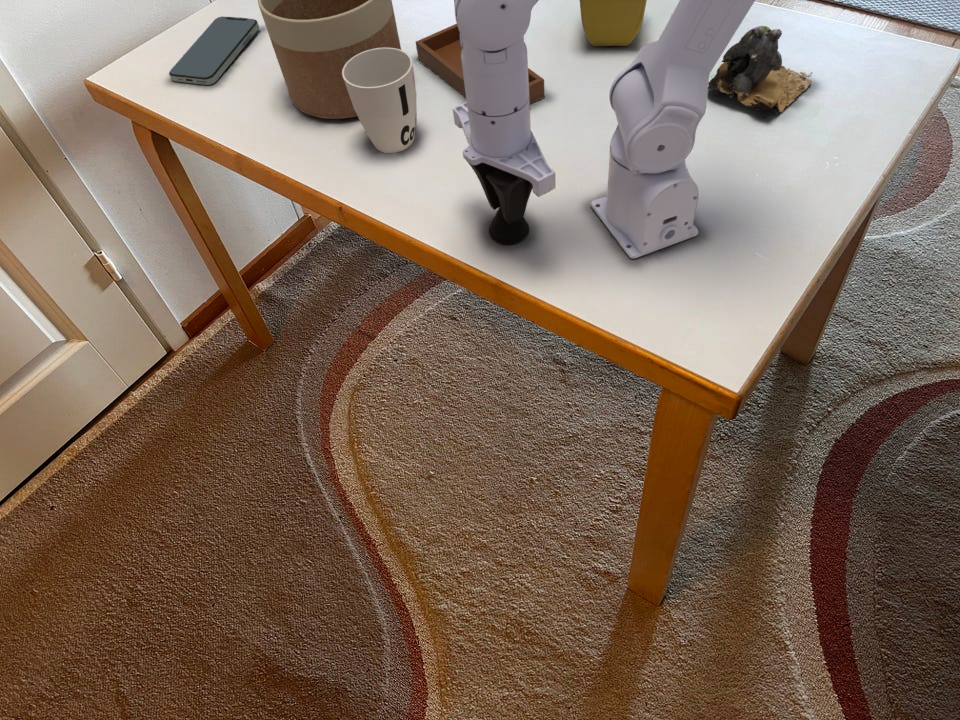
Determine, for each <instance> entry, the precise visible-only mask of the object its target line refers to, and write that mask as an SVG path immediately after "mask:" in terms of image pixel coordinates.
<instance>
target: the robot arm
mask: <svg viewBox="0 0 960 720" xmlns="http://www.w3.org/2000/svg"><path fill="white" fill-rule="evenodd" d="M539 1H540V0H453V4H454V16H455V23H456V24H457V25H458V29H459V31H460V43H461V47H462V52H461V61H462V69H463V77H464V85H465V93H466V98H465V101H466V102H463V103H461V104H458V105H457V106H455V107H453V108H452V115H453V121H454V122H453V123H454V125H455V126H456V127H457V128H458V129H462V131H463V133H464V134H463V135H464V136H465V139H466V142H467V144H468V146H467V147H466V148H464V149H463V150H462V158H463V159H464V160H465V161H466V163H468V165H469V166H470V167H471V169H472V170H473V172H474V173H475V175H476V177H477V179H478V181H479V183H480V185H481V187H482V190H483V192H484V195H485V198H486V200H487V202H488V204H489V206H490V208H491V209H493V210H494V211H496V210H498V209H499V207H500V206H501V210H502V214H503V217H504V219H505V221H506V222H508V223H509V224H510V223H512V222H514V221H516V220H518V219H519V218H521V217H525V215H526V210H527V206H528V202H529V199H530V197H531V193H533V194H534V195H535V196H536V197H538V198H540V197H542V196H544V195H546V194H548V193H550V192H551V191H553V190H555V189H556V171H555V170H553V168H551V166H550V165H549V164H548V161H547V160H546V158H545V156H544V154H543V152H542V150H541V148H540V146H539V143H538V141H537V139H536V137H535V135H534V133H533V131H532V126H531V104H530V101H529V80H528V68H529V61H528V48H527V44H526V42H525V35H526V33H527V31H528V29H529V26H530V23H531V17H532V10H533V8H534V7H535V6H536V5H537V3H538V2H539ZM755 2H756V0H679V1H678V3H677V4H676V7H675V8H674V11H672V14H671V16H670V18H669V19H668V22H667V23H666V24H665V27H664V29H663V30H662V32H661V34H660V36H659V38H658V39H657V40H655V41H652V42H649V43H647V44H644V45H642V46H641V47H640V49H639V51H638V53H637V55H636V56H635V58H634V59H633V61H632V62H630V64H629V65H628V66H626V67H625V68H624V69H623V70H621V71H620V73H618V75H616V77H615V79H614V80H613V82H612V83H611V86H610V89H609V94H608V95H609V96H608V97H609V98H608V99H609V103H610V106H611V109H612V110H613V112H614V114H615V117H616V122H617V125H616V127H615V130H614V132H613V134H612V136H611V139H610V142H609V143H610V144H609V158H608V174H607V176H608V177H607V188H606V189H607V190H606V196H603V197H599V198H596V199H594V200H592V201H591V202H590V207H591V208H592V210H593V211H594V212H595V214H596V215H597V217H598V218H599V220H601V221H602V223H603V224H604V226H605V227H606V228H607V229H608V231H609V232H610V233H611V235H612V236H613V238H615V240H616V241H617V243H618V244H619V245H620V247H621V248H622V249H623V251H624V252H625V253H626V254H627V257H629V258H630V259H638V258H640V257H643V256H645V255H649V254H651V253H653V252H656V251H659V250H662V249H664V248H667V247H670V246H672V245H675V244H678V243H681V242H683V241H686V240H689V239H691V238H694V237H696V236H698V234H699V229H698V228H697V227H696V225H694V221H695V217H696V211H697V208H698V207H697V206H698V201H699V197H700V196H699V195H700V191H699V187H698V185H697V183H696V182H695V180H694V179H693V177H692V176H691V174H690V172H689V170H688V167H687V162H686V159H687V158H688V157H689V155H690V154H691V152H692V150H693V149H694V147H695V143H696V134H697V133H696V132H697V129H698V126H699V124H700V122H701V121H702V119H703V118H704V116H705V114H706V110H707V103H708V102H707V101H708V92H709V91H708V90H709V89H708V86H709V84H708V83H709V82H710V76H711V75H710V74H711V73H712V71H713V69H714V68H715V66H716V64H717V63H718V61H719V60H720V59H721V56H722V54H723V53H724V51H726V48H727V47H728V45H729V43H730V42H731V40H732V39H733V37H734V36H735V35H736V32H737V31H738V29H739V28H740V26H741V24H742V22H743V21H744V19H745V17H746V16H747V15H748V13H749V11H750V10H751V8H752V6H753V5H754V4H755ZM494 188H495V189H494ZM495 190H496V192H495Z"/></svg>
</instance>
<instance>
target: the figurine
mask: <svg viewBox="0 0 960 720" xmlns="http://www.w3.org/2000/svg"><path fill="white" fill-rule="evenodd" d="M747 30H748V31H747V32H745V34H744V35H743V36H741V38H740V39H739V41H738V42H736V43H735V44H733V45H732V46H731V47H730V48H728V49H727V51H726V52H725V53H724V55H723V56H722V60H721V64H720V65H719V67H718V68H717V69H716V74H715V75H714V74H712V76H710V78H711V79H709V81H708V90H715V91H717V92H716V94H715V98H717V97H718V96H717V94H719V92H721V93H725V94H726V95H728V96H729V97H730V98H733V97H734V93H736V94H737V96H736V98H737V99H736V100H737V101H738V102H740V103H741V104H742V105H744V106H746V107H750V108H752V110H753V111H754V110H756V111H761V110H762V111H763V110H764V111H766V110H770V109H772V110H773V111H774V112H775V114H777V113H779V112H780V113H783V111H784V109H785V108H786V107H788V106H790V104H792V103H793V102H794V101H795V100H796V98H798V97H799V95H801V94H802V93H803V92H805V91H806V90H807V89H808V88H809V87H812V83H813V80H812V79H808V78H810V77H812V75H813V73H814V72H813V71H810V73H808V74H807V73H806V72H804V71H800V72H797V71H795V70H793V69H791V67H789V68H786V66H784V65H783V57H782V54H781V52H780V51H779V40H780V38H781V37H782V36H783V35H782V34H783V31H782V30H781V29H780V28H776V29H771V28H770V26H769V27H768V26H767V25H766V26H765V25H760V26H759V25H757V26H756V27H752V28H751V29H749V28H747ZM762 119H765V116H763V117H762Z"/></svg>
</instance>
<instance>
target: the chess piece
mask: <svg viewBox="0 0 960 720" xmlns="http://www.w3.org/2000/svg"><path fill="white" fill-rule="evenodd" d="M494 189H495V188H494ZM495 192H496V190H495ZM529 233H530V225H529V222H528V221H527V219H526V218H525V216H523V217H521V218H519V219H518V220H516V221H514V222H512V223H510V224H509V223H508V222H506V221H505V219H504V217H503V214H502V210H501V206H500V207H499V208H497V211H496V214H495V215H494V217H493V218H492V219H491V222H490V224H489V227H488V234H489V237H490V238H491V240H492V241H493V242H495V243H497V244H498V245H502V246H513V245H517V244H520V243H521V242H523V241H525V239H526V238H527V237H528V235H529Z"/></svg>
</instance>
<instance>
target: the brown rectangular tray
mask: <svg viewBox="0 0 960 720" xmlns="http://www.w3.org/2000/svg"><path fill="white" fill-rule="evenodd" d="M415 47H416V53H417V60H419V61H420V62H421V63H422V64H424V65H425V66H426V67H428V68H429V69H430V70H431V71H432V72H434V74H436V75H437V76H438V77H440V78H441V79H442V80H443V81H444V82H446V83H447V84H448V85H449V86H450V87H452V88H453V89H454V90H455V91H457V92H458V93H459V94H460V95H461V96H463V97H464V98H465V99H466V93H465V85H464V77H463V69H462V61H461V52H462V47H461V43H460V31H459V29H458V25H457V23H455V24H453V25H450V26H448V27H446V28H443V29H440V30H439V31H436V32H433V33H432V34H429V35H428V36H425V37H423V38H420V39H419V40H416V41H415ZM528 80H529V101H530V105H532V104H534V103H536V102H538V101H540V100H542V99H544V98H545V95H546V94H545V79H544V78H543V77H541V76H540V75H539V74H538V73H536V72H535V71H533V70H532V69H530V68H529V67H528Z"/></svg>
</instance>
